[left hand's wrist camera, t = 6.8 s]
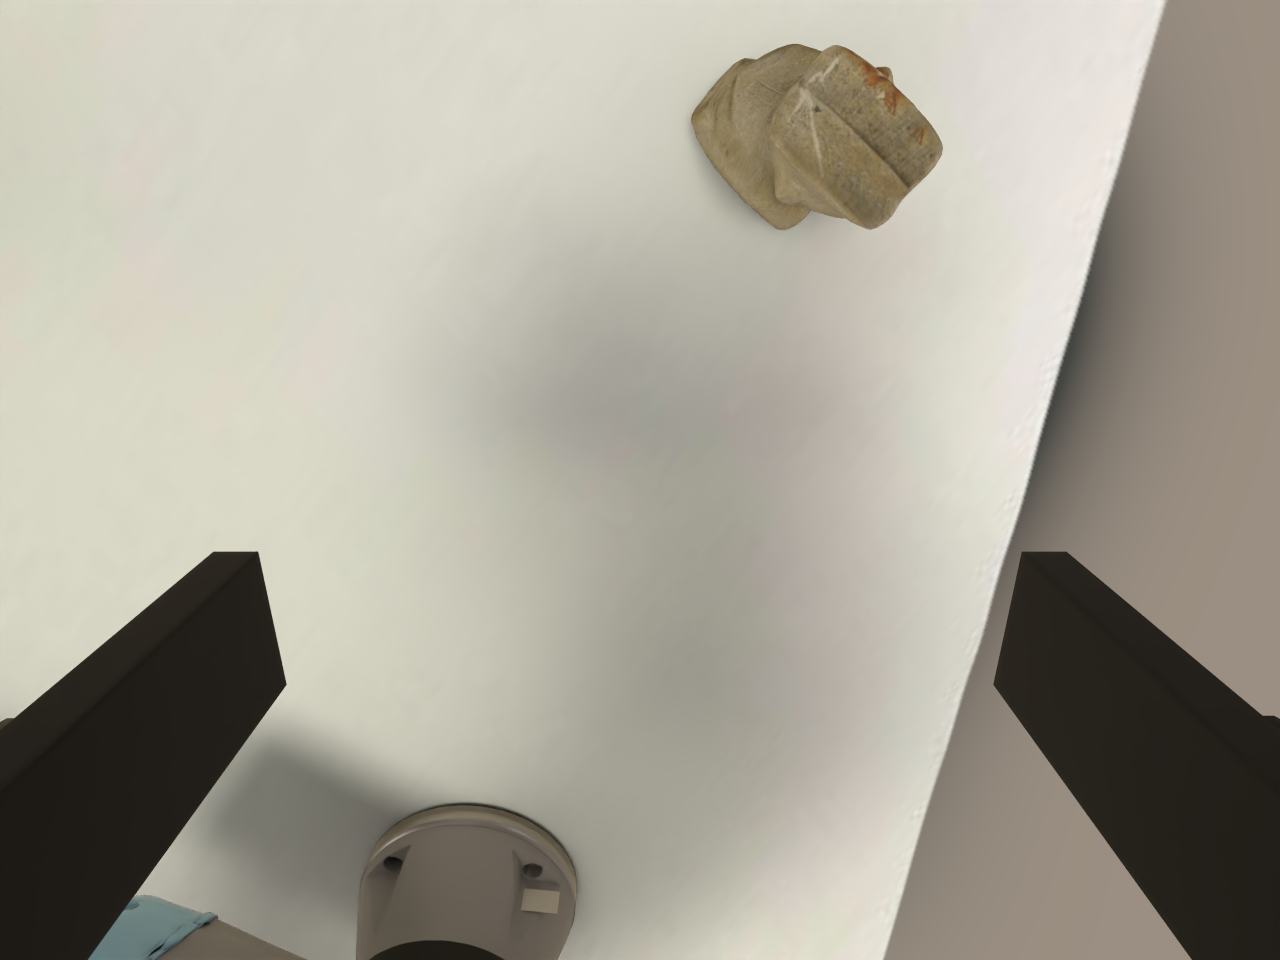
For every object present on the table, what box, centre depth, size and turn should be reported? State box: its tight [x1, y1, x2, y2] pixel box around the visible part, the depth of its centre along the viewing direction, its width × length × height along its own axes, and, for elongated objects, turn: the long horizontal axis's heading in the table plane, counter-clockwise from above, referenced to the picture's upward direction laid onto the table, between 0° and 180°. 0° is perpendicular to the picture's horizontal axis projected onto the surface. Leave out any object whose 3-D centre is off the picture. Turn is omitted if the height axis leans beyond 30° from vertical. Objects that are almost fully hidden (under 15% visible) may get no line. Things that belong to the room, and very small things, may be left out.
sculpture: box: [691, 44, 943, 230], centre depth 28 cm, size 6×7×15 cm
